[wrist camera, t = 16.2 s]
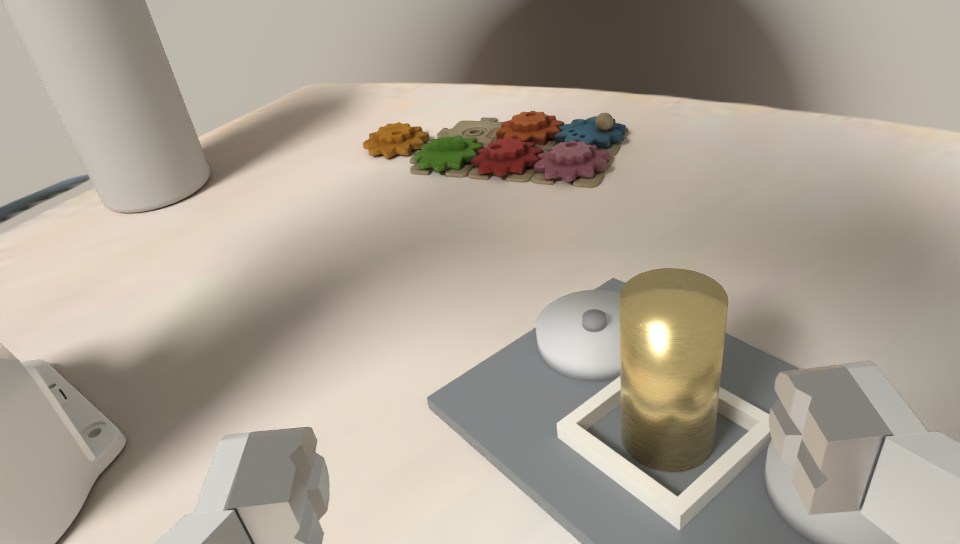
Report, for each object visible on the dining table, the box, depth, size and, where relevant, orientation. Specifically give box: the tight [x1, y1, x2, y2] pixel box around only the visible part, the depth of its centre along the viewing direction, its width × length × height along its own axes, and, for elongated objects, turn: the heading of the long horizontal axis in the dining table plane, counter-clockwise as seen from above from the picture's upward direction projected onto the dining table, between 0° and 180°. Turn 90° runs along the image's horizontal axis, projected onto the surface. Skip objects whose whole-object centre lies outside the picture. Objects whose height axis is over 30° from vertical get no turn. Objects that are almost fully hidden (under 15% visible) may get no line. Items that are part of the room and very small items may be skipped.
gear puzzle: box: [363, 111, 628, 188], centre depth 79 cm, size 31×16×4 cm, turn 67°
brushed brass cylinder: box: [620, 268, 728, 472], centre depth 37 cm, size 5×5×10 cm
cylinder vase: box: [2, 0, 210, 213], centre depth 75 cm, size 12×12×25 cm
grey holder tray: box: [427, 278, 899, 544], centre depth 40 cm, size 26×18×3 cm
